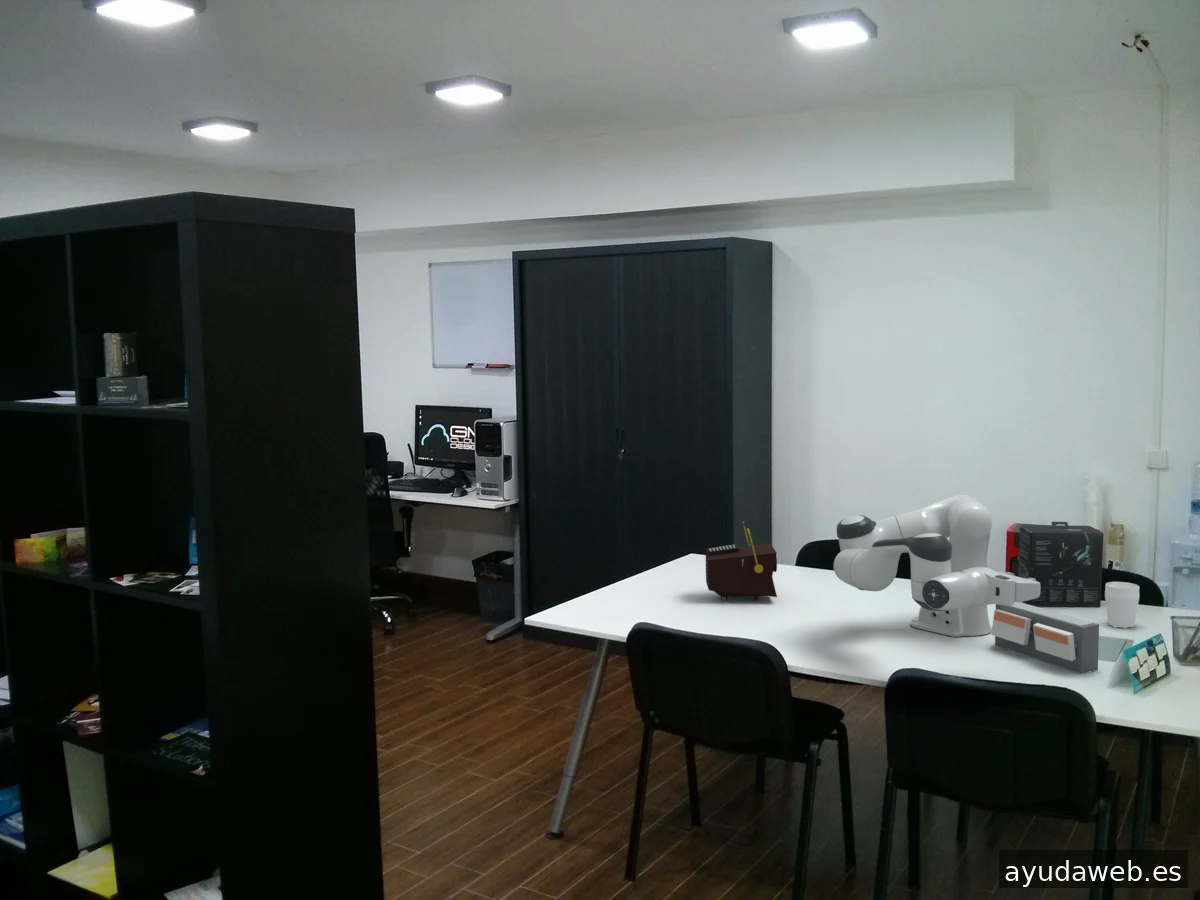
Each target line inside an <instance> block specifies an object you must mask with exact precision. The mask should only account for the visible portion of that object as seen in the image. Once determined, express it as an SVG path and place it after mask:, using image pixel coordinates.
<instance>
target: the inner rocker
mask: <svg viewBox="0 0 1200 900" xmlns="http://www.w3.org/2000/svg"><path fill="white" fill-rule="evenodd" d="M993 612H994V613H993V618H992V625H991V630H992V631H991V632H990V635H991V636H994V637H995V636H997V637H1000V638H1003V639H1006V640H1010V641H1013V642H1016V643H1019V644H1022V645H1028V639H1029V633H1030V634H1032V631H1030V626H1031V619H1029V618H1026V617H1022V616H1019V615H1015V614H1012V613H1009V612H1005V611H1002V610H996V609H994V611H993Z"/></svg>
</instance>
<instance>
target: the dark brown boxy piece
mask: <svg viewBox="0 0 1200 900" xmlns="http://www.w3.org/2000/svg"><path fill="white" fill-rule="evenodd" d="M742 525H743V530H744V535H745V537H746V541H747V546H741V547H739V546H738V544H737V543H734V544H728V545H722V546H721V545H720V546H717V547H710V548H706V552H705V582H706V583H705V584H706V587H707V588H708V591H710V592H714V593H715V594H717V595H718V596H719V597H720V598H724V600H725V602H728V598H754V602H758V598H762V597H764V598H765V597H770V598H771V597H772V598H773V597H774V598H778V597H777V591H776V587H775V583H774V578H773V574H774V573H777V571H778V559H777V550H775V548H774V546H773V545H772V544H771V543H770V542H766V543H759V544H755V545H754V542H753V538H752V535H751V532H750V528H749V526H748V525H747V523H746V522H745V521H742Z"/></svg>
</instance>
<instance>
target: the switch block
mask: <svg viewBox="0 0 1200 900" xmlns="http://www.w3.org/2000/svg"><path fill="white" fill-rule="evenodd" d="M995 610H1002V611H1005V612H1009V613H1012V614H1015V615H1019V616H1022V617H1026V618H1029V619H1031V626H1030V631H1032V634H1030V633H1029V639H1028V645H1022V644H1019V643H1016V642H1013V641H1010V640H1006V639H1003V638H1000V637H997V636H994V645H995V646H996V647H1000V648H1002V649H1005V650H1008V649H1009V651H1011V650H1012V652H1014V651H1015V652H1014V653H1017V654H1020V653H1021V655H1023V656H1027V657H1030V658H1033V659H1036V660H1039V661H1043V662H1044V663H1045V662H1046V663H1047V664H1051V665H1054V666H1057V667H1059V668H1060V667H1061V668H1063V669H1066V670H1069V671H1072V672H1075V673H1078V674H1081V675H1083V674H1086V672H1087V673H1090V672H1089V671H1091V672H1093V671H1094V670H1095V671H1098V670H1099V639H1100V623H1095V622H1094V621H1090V620H1085V619H1083V618H1078V617H1075V616H1072V615H1067V614H1065V613H1064V614H1063V613H1061V612H1057V611H1053V610H1049V609H1046V608H1042V607H1040V606H1032V605H1028V604H1025V603H1023V602H1014V605H1011V606H1004V605H996V604H995ZM1036 623H1039V624H1043V625H1046V626H1050V627H1053V628H1056V629H1060V630H1063V631H1067V632H1070V633H1073V636H1074V644H1076V645H1077V648H1075V656H1076V659H1075V660H1073V661H1070V660H1066V659H1063V658H1060V657H1057V656H1054V655H1051V654H1048V653H1045V652H1042V651H1039V650H1036V646H1035V637H1034V628H1033V625H1034V624H1036ZM1095 671H1094V672H1095ZM1082 673H1083V674H1082Z"/></svg>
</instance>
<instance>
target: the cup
mask: <svg viewBox="0 0 1200 900" xmlns="http://www.w3.org/2000/svg"><path fill="white" fill-rule="evenodd" d="M1104 588H1105V590H1104V600H1105V609H1106V617H1107V622H1108V625H1109V626H1110V625H1112V626H1116V627H1126V628H1125V629H1128V628H1127V627H1132V628H1134V627H1133V626H1135V622H1136V616H1137V612H1138V606H1139V602H1140V585H1138V584H1136V583H1131V582H1127V581H1126V582H1125V581H1109V582H1106V583H1105V586H1104ZM1112 626H1111V627H1112ZM1116 627H1115V628H1116Z"/></svg>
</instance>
